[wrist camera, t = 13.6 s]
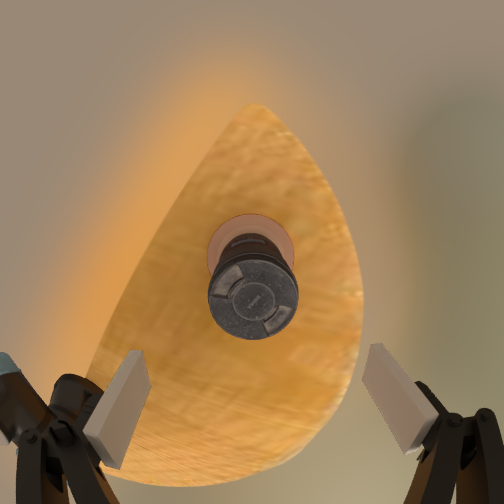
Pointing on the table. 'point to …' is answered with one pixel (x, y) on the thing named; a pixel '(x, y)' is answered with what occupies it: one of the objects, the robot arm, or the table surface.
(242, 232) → the plate
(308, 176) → the table surface
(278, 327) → the camera lens
